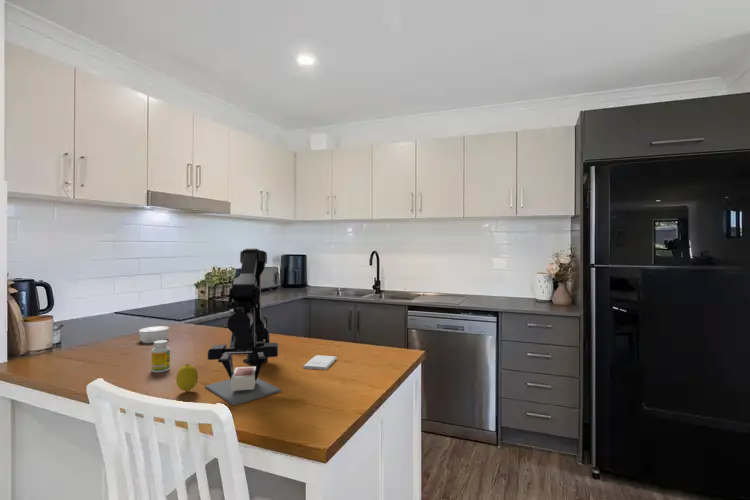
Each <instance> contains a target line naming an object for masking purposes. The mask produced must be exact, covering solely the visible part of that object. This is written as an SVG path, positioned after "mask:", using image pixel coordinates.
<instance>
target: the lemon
mask: <svg viewBox="0 0 750 500" xmlns="http://www.w3.org/2000/svg"><path fill="white" fill-rule="evenodd" d="M175 381H176V385H177V388H179V389H180V390H182V391H184V392H185V393H189V392H190V391H191V390H193V389H194V388H195V387H196V386H197V384H198V381H199V373H198V370H197V368H196V367H195V366H194V365H192V364H189V363H186V364H185V365H183V366H181V367H180V368H179V369H178V371H177V374H176V380H175Z"/></svg>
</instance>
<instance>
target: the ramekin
mask: <svg viewBox="0 0 750 500" xmlns="http://www.w3.org/2000/svg"><path fill="white" fill-rule="evenodd" d="M169 331H170V327H169V326H165V325H162V326H161V325H160V326H159V325H158V326H156V325H155V326H149V327H148V326H147V327H143V328H140V329H139V330H138V333H139V337H140V341H141V343H143V344H154V342H155V341H159V340H167V339H168V335H169Z"/></svg>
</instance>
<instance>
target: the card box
mask: <svg viewBox="0 0 750 500" xmlns="http://www.w3.org/2000/svg"><path fill="white" fill-rule="evenodd" d="M255 371H256V365H255V366H254V365H253V366H241V367H234V369H233V374H232V377H231V391H237V390H251V389H254V387H255V383H256V381H255Z"/></svg>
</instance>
